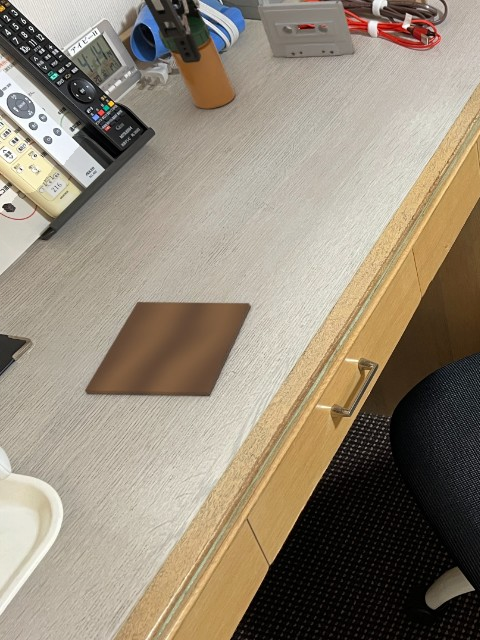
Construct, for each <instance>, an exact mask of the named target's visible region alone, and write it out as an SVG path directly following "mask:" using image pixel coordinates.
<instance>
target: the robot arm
mask: <svg viewBox="0 0 480 640" xmlns="http://www.w3.org/2000/svg"><path fill="white" fill-rule="evenodd" d="M143 1H144V2H145V4H146V6H147V8H148V11H149V13H150V14H151V16H152V18H153V20H154V21H155V24H156V26H157V27H158V30H159V29H160V31H161V33H162V35H163V37H164V38H165V39H167V38H173V40H174V42H175V44H176V46H177V49H178V51H179V53H180V56H181V58H182V60H183V61H184V62H185V63H192V62H199V61H200V58H201V55H200V52H199V50H198V48H197V45H196V43H195V41H194V38H193V36H192V34H191V32H190V28H189V24H188V21H187V17H197V18H201V19H202V20H204V19H203V16H202V13H201V11H200V8H201V7H200V1H199V0H143ZM175 6H176V7H177V8H175ZM172 22H173V23H174V25H175V26H172Z"/></svg>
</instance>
